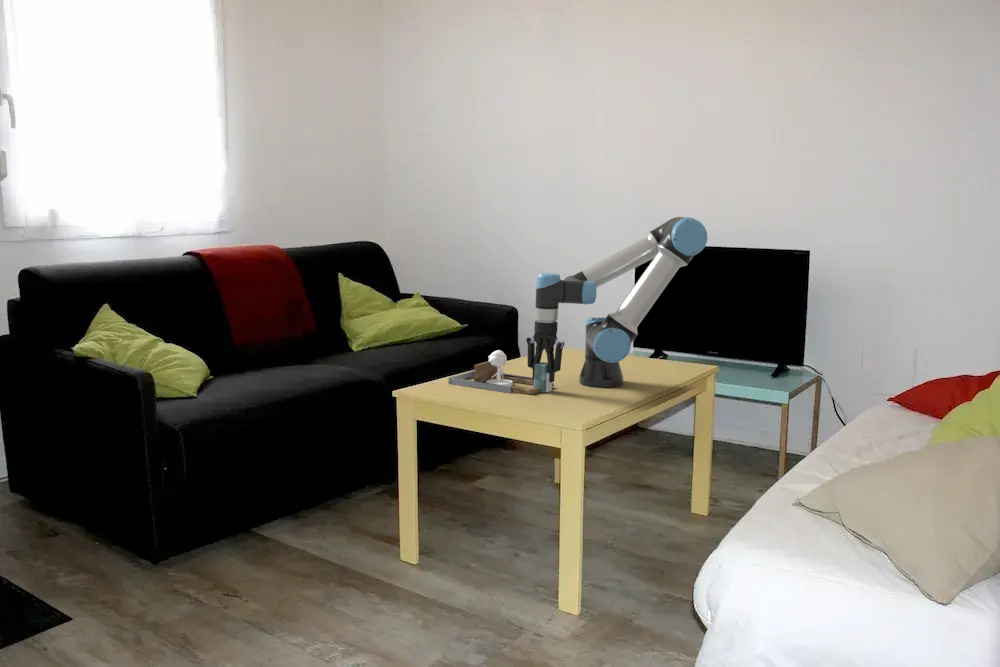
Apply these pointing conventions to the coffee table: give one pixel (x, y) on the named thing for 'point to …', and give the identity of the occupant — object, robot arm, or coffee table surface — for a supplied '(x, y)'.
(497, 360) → the figurine
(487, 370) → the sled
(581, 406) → the coffee table surface
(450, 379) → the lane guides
